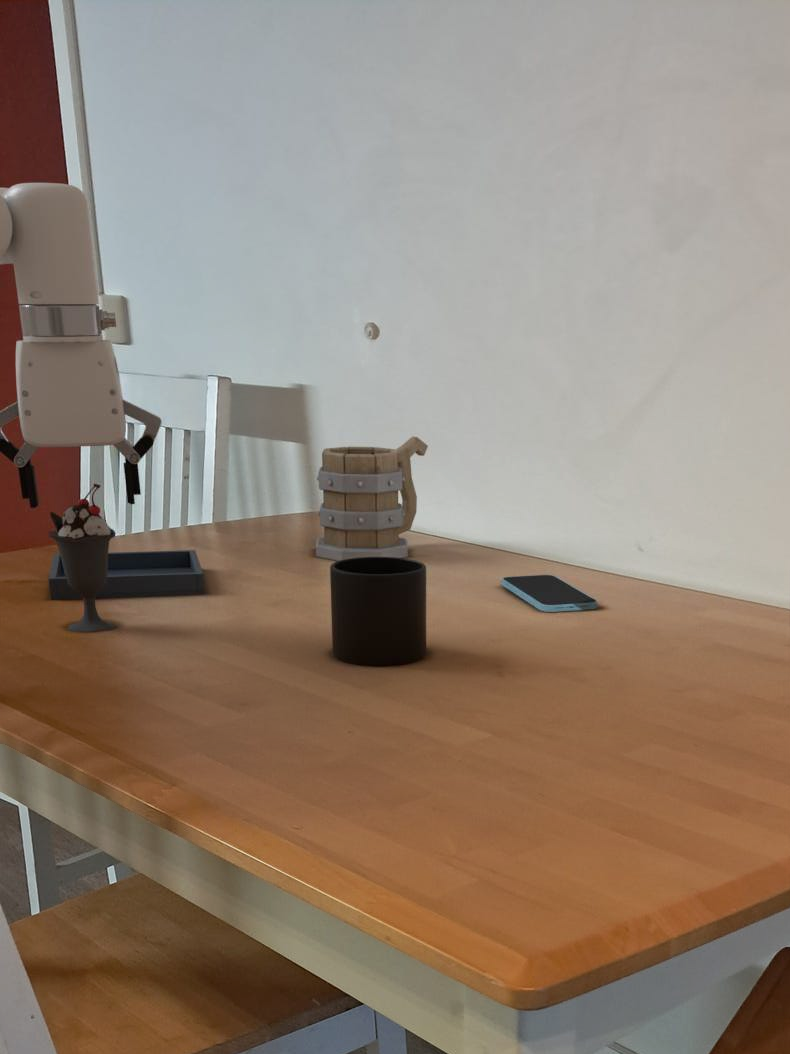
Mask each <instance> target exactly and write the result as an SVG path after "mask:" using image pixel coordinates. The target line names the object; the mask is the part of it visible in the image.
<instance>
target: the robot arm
mask: <svg viewBox="0 0 790 1054" xmlns="http://www.w3.org/2000/svg"><path fill="white" fill-rule="evenodd" d="M94 255H95V254H94V245H93V237H92V227H91V218H90V210H89V204H88V199H87V197H86V195H85V193H84V192H83V191H82V190H81V188H79V187H77V186H75V185H71V184H67V183H59V182H58V183H56V182H23V183H22V182H21V183H16V184H14V185H12V186H10V187H0V265H8V264H12V265H13V271H14V278H15V279H14V280H15V285H16V292H17V301H18V309H19V317H20V325H21V332H22V340H16V344H15V381H16V382H15V383H16V395H17V397H16V398H17V401H15V402H14V403H12V404H10V405H8V406H7V407H5V408H4V409H1V410H0V453H1V454H2V455H4V456H5V457H6V458H7V459H8V460H10V461H11V462H12V463H13V464H14V465H15V466H16V468H17V470H18V476H19V482H20V483H19V484H20V490H21V497H22V499H23V500H26V499H27V500H28V502H29V507H30V509H36V508H37V507H39V504H40V500H39V493H38V486H37V485H38V483H37V478H36V470H35V465H33V464H32V459H31V458H32V457H33V455H34V454H35V452H36V451H37V449H38V448H73V447H75V448H76V447H102V446H103V447H105V446H106V447H107V446H114V448H115V449H116V450H117V451H118V452H119V453H120V454H121V455H122V456H123V457H124V462H123V473H124V480H125V490H126V491H125V492H126V499H127V500H126V501H127V504H129V505H135V504H136V501H135V496H139V495H140V496H141V494H142V493H141V482H140V474H139V473H140V472H139V465H138V464H139V463H140V462H141V460H142V458H144V456H145V455H146V454H147V453H148V452H149V451H150V450H151V448H152V447H153V445H154V443H155V440H156V438H157V436H158V434H159V431H160V428H161V426H162V419H161V417H160V416H159V415H157V414H155V413H152V412H150V411H148V410H146V409H144V408H142V407H140V406H138V405H136V404H134V403H133V402H130V401H128V400H126V399H124V398H123V397H124V396H123V390H122V385H121V378H120V374H119V373H120V372H119V368H118V363H117V358H116V354H115V351H114V347H113V344H112V341H111V340H110V339H104V337H103V336H104V335H103V331H106V329H107V330H108V329H110V328H117V319H116V312H108V311H107V310H104V309H101V308H100V305H99V304H100V301H99V293H98V292H99V290H98V282H97V281H98V280H97V273H96V264H95V256H94ZM126 416H128V417H129V418H132V419H134V420H135V421H138V422H140V423H142V424H144V426H145V428H144V430H143V433H142V436H141V437H140V438H139V439H138V440H137V442H136V443H135V444H134V445H133V444H132V443H131V442H130V441H129V440H128V439H127V438H126V432H127V422H126ZM17 418H19V424H20V430H21V435H22V438H23V440H24V443H23V444H22V445H21V447H20V448H18V447H17V446H16V445H15V444H14V443H13V442H11V441H10V440H9V439H7V438H8V437H6V435H5V433H4V432H3V430H2V428H3V426H5V425H7V424H9V423H10V422H12V421H15V419H17Z"/></svg>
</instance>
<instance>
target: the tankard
mask: <svg viewBox="0 0 790 1054" xmlns="http://www.w3.org/2000/svg"><path fill="white" fill-rule="evenodd" d="M428 447H429V446H428V444H427V443H425V441H423V440H422V439H421V438H419V437H417V436H411V437H410V438H408V440H406V441H405V442H404V443H403V444H401V445H400V446H399V447H397V448H396V449H395V448H387V447H379V446H375V447H374V446H339V447H338V446H337V447H329V448H328V447H326V448H324V449H323V450H322V452H321V461H322V462H321V463H322V464H321V465H322V466H321V467H319V469H318V475H317V477H316V481H318V489H319V490H321V491H322V494H323V496H322V498H323V499H322V500H323V502H321V504H320V506H319V511H318V512H317V515H318V516H319V525H320V526H321V527H324V528H323V529H324V530H323V531H324V537H318V539H316V543H315V557H316V558H321V559H325V560H331V561H334V562H337V561H340V560H344V559H350V558H360V557H395V558H405V559H407V558H408V556H409V553H408V552H409V549H408V540H407V538H404V537H399V535H401V534H403V533H406V532H408V531H411V529H412V526H413V523H414V521H415V517H416V515H417V506H418V505H417V504H418V496H417V492H416V488H415V485H414V481H413V477H412V462H411V458H412V456H414V455H415V454H416V456H421V457H424V456H425V455H426V452H427V451H428ZM399 492H400V496H401V499H402V500H401V503H399Z"/></svg>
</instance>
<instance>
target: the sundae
mask: <svg viewBox="0 0 790 1054" xmlns="http://www.w3.org/2000/svg"><path fill="white" fill-rule="evenodd" d="M100 488H101V484H98V483H93V486H92V488H91V489H90V490H89V491H88V493H87V494H86V495H85V497H84V498H80V499H78V502H77V504H75V505H72V506H70V507H68V508H67V509H66V510H65V511H64V512H63V515H62V516H60V515H58V514H56V513H55V512H53V511H50V512H49V515H50V518H51V520H52V523H53V525H54V527H55V530H51V531H49V532H48V533H47V535H48V537H50V538H52V539H54V541H55V542H56V545H57V548H58V552H59V554H60V556H61V560H62V564H63V568H64V573H65V576H66V579H67V582H68V584H69V585H70V586H71V587H72V588H73V590H75V591H76V592H78V593H79V594H80V595H81V596H82V597H83V599H82V600H83V608H84V609H83V616H82V617H81V619H80V620H79V621H78V622H74V623H71V624H70V625H68V626H67V629H68V630H69V631H72V632H77V633H100V632H105V631H109V630H113V629H114V628H116V624H115V623H113V622H111V621H107V620H103V619H102V618H101V617H100V616H99V614H98V610H97V606H96V598H95V597H96V595H97V594H98V592H99V591H101V590H102V589H103V587H104V586H105V584H106V583H107V574H108V553H109V548H110V541H111V539H113V538H115V537H116V531H115V530H114V529H113V528H111V527H110V526H109V524H108V522H107V520H106V519H104V517H103V516H101V515H100V514H101V507H99V506H98V505H96V504H95V501H94V495H95V493H96V491H97V490H98V489H100ZM92 491H93V492H92ZM91 493H92V494H91ZM90 494H91V505H90V501H89V500H88V499H87V498H88V497H89V495H90Z"/></svg>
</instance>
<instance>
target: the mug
mask: <svg viewBox="0 0 790 1054" xmlns="http://www.w3.org/2000/svg"><path fill="white" fill-rule="evenodd" d="M329 576H330V577H329V579H330V582H329V583H330V611H331V612H330V614H331V645H332V646H331V647H332V654H333V657H334V658H335V659H337V660H338V661H340V662H343V663H346V664H350V665H355V666H361V667H362V666H363V667H395V666H403V665H408V664H412V663H415V662H418V661H421V660H423V659H424V658H425V656H426V654H427V566H426V564H425V563H423V562H421V561H418V560H415V559H411V558H395V557H360V558H350V559H344V560H340V561H334V562H332V563H331V564H330V566H329Z"/></svg>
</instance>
